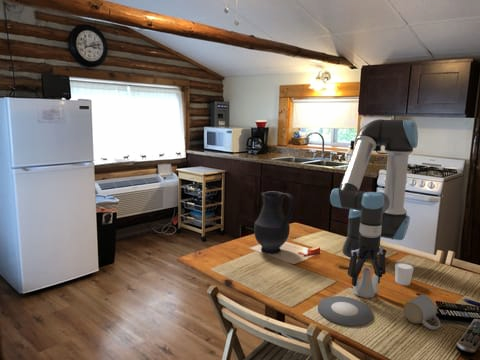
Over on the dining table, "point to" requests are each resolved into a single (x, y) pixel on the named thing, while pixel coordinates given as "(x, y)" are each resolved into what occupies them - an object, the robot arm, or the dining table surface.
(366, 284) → the flask
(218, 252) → the dining table surface
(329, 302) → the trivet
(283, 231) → the pitcher
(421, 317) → the ceramic mug
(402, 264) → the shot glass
